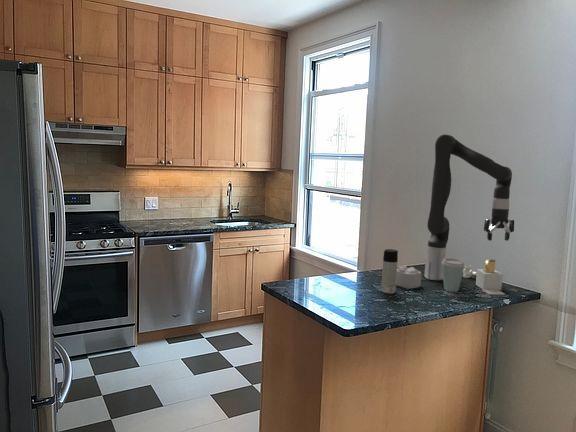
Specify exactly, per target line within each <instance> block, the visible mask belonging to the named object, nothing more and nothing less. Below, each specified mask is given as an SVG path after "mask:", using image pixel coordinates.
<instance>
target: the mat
mask: <svg viewBox="0 0 576 432" xmlns="http://www.w3.org/2000/svg"><path fill="white" fill-rule="evenodd" d="M482 292H484V293H486V294H487V295H491V296H492V295H494V296H495V295H497V296H506V293H504V292H503V291H502V290H483V289H482Z"/></svg>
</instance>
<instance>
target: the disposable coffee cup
mask: <svg viewBox="0 0 576 432" xmlns="http://www.w3.org/2000/svg"><path fill="white" fill-rule="evenodd" d="M465 265H466V263H464V261H463V260H460V259H457V258H453V257H445V258H444V259H443V261H442V269H443V280H442V282H443V288H444V290H445V292H446V291H447V292H451V293H454V292H455V293H456V292H458V291H459V290H460V286H461V281H462V277H463V269H464V266H465Z"/></svg>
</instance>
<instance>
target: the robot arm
mask: <svg viewBox="0 0 576 432" xmlns="http://www.w3.org/2000/svg"><path fill="white" fill-rule="evenodd" d="M451 155H453V156H456V157H458V158H460V159H462V160H463V161H465V162H466V163H468V164H469V165H471V166H472V167H474V168H475V169H478V170H479V171H481V172H483V173H485V174H487V175H488V176H490V177H491V178H493V179H495V180H496V181H495V187H494V189H493V199H492V206H491V219H487V218H485V219H484V227H483V231H484V232H486V233H487V235H486V237H487V240H488V241H492V239H493V231H495V230H496V229H503V231H504V241H507V242H508V241H509V240H510V235H511V233H513V232H515V220H514V219H511V218H510V219H509V211H510V195H511V194H510V193H511V189H510V188H511V185H512V180H513V179H512V178H513V172H512V170H511V168H510V167H507V166H504V165H501V164H499V163H497V162H496V161H494V160H493V159H491V158H490V157H488V156H486V155H484V154H483V153H481V152H477V151H476V150H473V149H471V148H469V147H468V146H466V145H464V144H463V143H461V142H460V141H458V140H457V139H456V138H455V137H454V136H452V135H450V134H444V133H443V134H440V135H439V136H438V137H437V138H436V140H435V142H434V156H435V158H434V159H435V160H434V168H433V176H432V185H431V199H430V209H429V213H428V214H429V215H428V219H427V230H428V231H429V233H430V237H429V240H428V242H427V253H426V258H425V262H424V263H425V264H424V276H423V277H425V279H427V280H432V281H443V269H442V261H443V259H444V258H446V254H447V244H448V242H449V235H450V222H449V219H448V218H447V217H446V216H445V209H446V205H447V202H448V200H449V197H450V196H451V195H450V194H451V189H452V188H451V187H452V171H451V165H450V162H451Z"/></svg>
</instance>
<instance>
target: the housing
mask: <svg viewBox="0 0 576 432" xmlns="http://www.w3.org/2000/svg"><path fill="white" fill-rule="evenodd" d="M476 273H477V276H476V277H475V278H476V279H475V285H476V286H477V287H479V288H480V289H481V290H482V291H483V290H499V291H502V287H503V275H504V274H503V273H501V272H500V271H498V270H496V269H495V271H494V273H486V272H485V268H484V269H482V268H480V269H476Z"/></svg>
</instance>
